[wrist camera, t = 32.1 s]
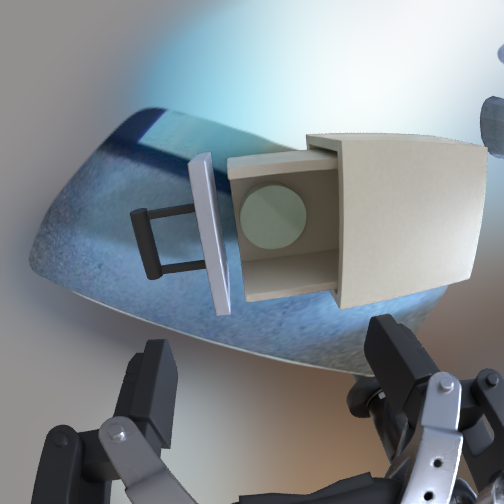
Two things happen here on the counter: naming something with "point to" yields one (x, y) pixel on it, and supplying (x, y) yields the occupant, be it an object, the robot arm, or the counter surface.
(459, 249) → the cabinet
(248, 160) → the drawer
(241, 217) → the pale green disc
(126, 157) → the counter surface
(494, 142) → the moka pot
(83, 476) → the robot arm
